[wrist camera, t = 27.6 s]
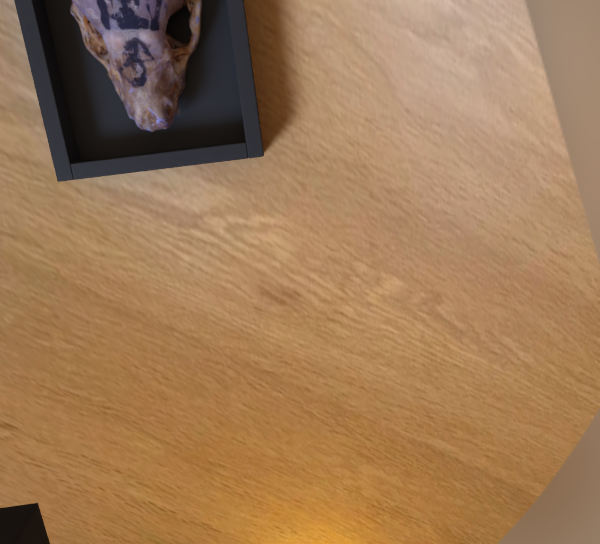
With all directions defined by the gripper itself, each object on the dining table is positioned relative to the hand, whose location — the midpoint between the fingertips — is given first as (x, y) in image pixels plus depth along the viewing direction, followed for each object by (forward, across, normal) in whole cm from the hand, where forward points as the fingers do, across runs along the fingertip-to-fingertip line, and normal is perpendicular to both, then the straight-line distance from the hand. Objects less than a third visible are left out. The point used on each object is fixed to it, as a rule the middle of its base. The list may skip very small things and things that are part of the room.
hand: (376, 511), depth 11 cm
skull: (+28, -8, +14) cm, 33 cm away
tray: (+29, -8, +14) cm, 33 cm away
